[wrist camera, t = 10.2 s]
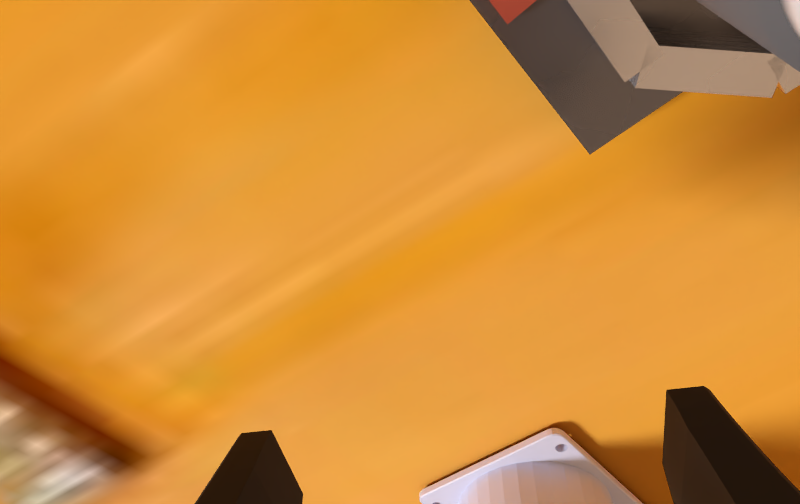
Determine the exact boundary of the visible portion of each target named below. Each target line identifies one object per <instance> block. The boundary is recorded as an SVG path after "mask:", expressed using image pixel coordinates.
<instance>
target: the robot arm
mask: <svg viewBox="0 0 800 504" xmlns="http://www.w3.org/2000/svg"><path fill="white" fill-rule="evenodd" d="M662 464H663V467H664V471H665V474H666V478H667V481H668V485H669V489H670V492H671V496H672V499H673V502H674V504H800V491H799V490H798V489H797V488H796V487H795V486H794V485H793V484H792V483H791V482H790V481H789V480H788V479H787V478H786V476H785V475H784V474H783V473H782V472H781V471H780V470H779V469H778V468H777V467H776V466H775V465H774V464H773V463H772V462H771V461H770V459H769V458H768V457H767V456H766V455H765V454H764V453H763V452H762V451H761V449H760V448H759V447H758V446H757V445H756V444H755V443H754V442H753V441H752V439H751V438H750V437H749V436H748V435H747V434H746V433H745V432H744V430H743V429H742V428H741V427H740V426H739V425H738V423H737V422H736V421H735V420H734V419H733V418H732V416H731V415H730V414H729V413H728V412H727V410H726V409H725V408H724V407H723V406H722V404H721V403H720V402H719V401H718V400H717V398H716V397H715V396H714V395H713V393H712V392H711V391H710V390H709V389H707V388H706V387H704V386H700V387H690V388H681V389H671V390H666V408H665V426H664V443H663V461H662ZM302 499H303V493H302V491H301V489H300V487H299V485H298V483H297V481H296V479H295V477H294V475H293V473H292V471H291V469H290V467H289V465H288V463H287V461H286V459H285V457H284V455H283V453H282V451H281V449H280V447H279V444H278V442H277V440H276V438H275V436H274V434H273V432H272V430H269V431H259V432H249V433H241V435H240V436H239V437H238V439H237V440H236V442H235V443H234V445H233V446H232V448H231V449H230V451H229V452H228V454H227V455H226V457H225V458H224V460H223V461H222V463H221V464H220V466H219V468H218V469H217V471H216V472H215V474H214V475H213V477H212V478H211V480H210V481H209V483H208V484H207V486H206V487H205V489H204V490H203V492H202V493H201V495H200V497H199V498H198V500H197V501H196V503H195V504H302ZM419 499H420V502H421V503H422V504H643V503H642V502H641V501H640V500H638V499H637V498H636V497H635V496H634V495H633V494H632V493H631V492H630V491H629V490H628V489H626V488H625V487H624V486H623V485H622V484H621V483H620V482H619V481H618V480H617V479H616V478H614V477H613V476H612V475H611V474H610V473H609V472H608V471H607V470H606V469H605V468H603V467H602V466H601V465H600V464H599V463H598V462H597V461H596V460H595V459H594V458H593V457H591V456H590V455H589V454H588V453H587V452H586V451H585V450H584V449H583V448H582V447H580V446H579V445H578V444H577V443H576V442H575V441H574V440H573V439H572V438H571V437H570V436H568V435H567V434H566V433H565V432H564V431H563V430H561V429H558V428H550V429H547V430H545V431H543V432H541V433H539V434H537V435H535V436H532V437H530V438H528V439H526V440H524V441H522V442H520V443H518V444H516V445H514V446H512V447H510V448H508V449H505V450H503V451H501V452H499V453H497V454H495V455H493V456H491V457H489V458H487V459H485V460H483V461H480V462H478V463H476V464H474V465H472V466H470V467H468V468H466V469H464V470H462V471H460V472H458V473H456V474H453V475H451V476H449V477H447V478H445V479H443V480H441V481H439V482H437V483H435V484H433V485H431V486H428V487H426V488H424V489H423V490H421V491H420V497H419Z"/></svg>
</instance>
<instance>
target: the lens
mask: <svg viewBox="0 0 800 504" xmlns="http://www.w3.org/2000/svg"><path fill="white" fill-rule="evenodd" d="M696 1H697V2H699V3H700V4H702V5H703V6H704V7H706V8H707V9H709V10H710V11H712V12H713V13H715V14H716V15H718V16H719V17H720V18H722V19H723V20H725V21H726V22H728V23H729V24H731V25H732V26H733V27H735V28H736V29H738V30H739V31H741V32H742V33H744V34H745V35H747V36H748V37H749V38H751V39H752V40H754V41H755V42H757V43H758V44H760V45H761V46H762V47H764V48H765V49H767V50H768V51H770V52H771V53H773V54H774V55H776V56H777V57H778V58H780V59H781V60H783V61H784V62H786V63H787V64H789V65H790V66H791V67H793V68H794V69H796V70H797V71H799V72H800V0H696Z"/></svg>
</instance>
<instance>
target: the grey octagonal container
mask: <svg viewBox="0 0 800 504" xmlns="http://www.w3.org/2000/svg"><path fill="white" fill-rule="evenodd" d="M470 1H471V3H472V4H473V5H474V6H475V8H476V9H477V10H478V12H479V13H480V14H481V15H482V17H483V18H484V19H485V21H486V22H487V23H488V24H489V26H490V27H491V28H492V30H493V31H494V32H495V33H496V35H497V36H498V37H499V39H500V40H501V41H502V42H503V44H504V45H505V46H506V48H507V49H508V50H509V51H510V53H511V54H512V55H513V56H514V58H515V59H516V60H517V62H518V63H519V64H520V65H521V67H522V68H523V69H524V71H525V72H526V73H527V74H528V76H529V77H530V78H531V80H532V81H533V82H534V83H535V85H536V86H537V87H538V89H539V90H540V91H541V92H542V94H543V95H544V96H545V98H546V99H547V100H548V101H549V103H550V104H551V105H552V106H553V108H554V109H555V110H556V112H557V113H558V114H559V115H560V117H561V118H562V119H563V121H564V122H565V123H566V124H567V126H568V127H569V128H570V130H571V131H572V132H573V133H574V135H575V136H576V137H577V139H578V140H579V141H580V142H581V144H582V145H583V146H584V148H585V149H586V150H587V151H588V153H589V154H591V153H593V152H594V151H596V150H597V149H599V148H600V147H602V146H603V145H605V144H606V143H608V142H609V141H611V140H612V139H613V138H615V137H616V136H618V135H619V134H621V133H622V132H624V131H625V130H627V129H628V128H630V127H631V126H633V125H634V124H636V123H637V122H639V121H640V120H642V119H643V118H645V117H646V116H648V115H649V114H650V113H652V112H653V111H655V110H656V109H658V108H659V107H661V106H662V105H664V104H665V103H667V102H668V101H670V100H671V99H673V98H674V97H676V96H677V95H679V94H680V93H682V92H683V91H684V92H698V93H712V94H726V95H740V96H754V97H768V98H772V96H773V94H774V91H775V89H776V87H777V88H779V89H780V90H781V91H782V92H784V93H785V94H786V93H788V92H789V91H791V90H793V89H794V88H796V87H797V86H799V85H800V72H799V71H797V70H796V69H794V68H793V67H791V66H790V65H789V64H787V63H786V62H784V61H783V60H781V59H780V58H778V57H777V56H776V55H774V54H773V53H771V52H770V51H768V50H767V49H765V48H764V47H762V46H761V45H760V44H758V43H757V42H755V41H754V40H752V39H751V38H749V37H748V36H747V35H745V34H744V33H742V32H741V31H739V30H738V29H736V28H735V27H733V26H732V25H731V24H729V23H728V22H726V21H725V20H723V19H722V18H720V17H719V16H718V15H716V14H715V13H713V12H712V11H710V10H709V9H707V8H706V7H704V6H703V5H702V4H700V3H699V2H697V1H696V0H470Z"/></svg>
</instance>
